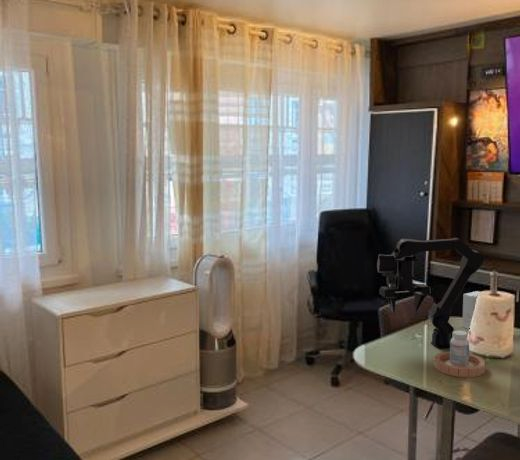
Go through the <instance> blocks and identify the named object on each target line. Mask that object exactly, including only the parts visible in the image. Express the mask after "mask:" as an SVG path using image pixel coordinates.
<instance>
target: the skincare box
mask: <svg viewBox="0 0 520 460" xmlns="http://www.w3.org/2000/svg"><path fill="white" fill-rule="evenodd" d="M480 292H481V291H478V290H475V291H472V292H467V293H463V299H462V325H461V327H463V328H465V329H468V330H469V326H470V322H471V318H472V315H473V311H474V307H475V302H476V298H477V295H478V293H480Z"/></svg>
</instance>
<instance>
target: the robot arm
mask: <svg viewBox="0 0 520 460" xmlns="http://www.w3.org/2000/svg"><path fill="white" fill-rule="evenodd" d="M451 250H455V251H456V252H457V253H458V254H459V255H460V256H462V257H461V260H460V263H459V269H458V271H457V273H456V274H455V276H454V278H453V279H452V281H451V283H450V285H449V287H448V288H447V291H446V292H445V293H444V295H443V297H442V299H441V301H440V302H438V303H435V302H433V303H432V305H431V307H430V309H428V311H427V312H428V315H427V316H428V320H429V322H431V324H432V325H433V327H435V328H433V331H432V332H433V333H432V334H431V336H432V337H431V342H430V343H431V344H432V345H433V346H435V347H436V348H437V349H450V341H451V339H452V338H453V332H454V331H455V328H454V326H452V324H451V323H450V322H449V320H450V318H451V313H452V308H453V306H454V305H455V303H456V301H457V300H458V297H459V296H460V294H461V292H463V290H464V287H465V286H466V284H467V283H468V281H469V279H470V277H471V276H473V274H475V273H476V272H478V270H480V268H481V267H482V266H483V264H484V262H485V259H484V255H483V254H482V253H480V252H478V251H477V250H475V249H471V247H469V246H468V245H466V244H465V243H464V242H463V241H462V240H461V239H459V238H458V237H453V238H443V239H442V238H441V239H429V240H427V239H426V240H419V239H412V238H401V239H399V240H398V242H397V244H396V247H395V249H394V250H393V251H392V252H391V254H378V258H377V262H376V268H377V272H378V273H394V272H395V271H396V270H397V272H396V273H395V277H393V276H392V275H388V276H386V277H385V278H386V280H385V282H386V286H380V288H379V289H378V290H379V292H378V294H379V295H381V296H382V297H383V298H385V299H386V300H387V302H388V304H389V307H390V310H391V313H392V314H395V312H396V298H397V297H396V296H395V295H396V294H409V293H413V295H414V304H413V305H414V309H413V310H414V312H415V313H417V312H418V310H419V308H420V306H421V304H422V303H423V301H424V300H425V298H426V297H428V295H431V293H432V290H431V286H429V285H426V284H424V283H420V284H419V283H418V284H417V283H416V284H415V285H414V279H415V277H416V276H415V275H414V262H420V259H419V258H418V257H417V256H416V255H418V254H420V253H425V252H435V251H451ZM389 285H390V286H389Z"/></svg>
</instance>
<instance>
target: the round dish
mask: <svg viewBox="0 0 520 460" xmlns="http://www.w3.org/2000/svg"><path fill="white" fill-rule="evenodd" d="M433 358H434V362H433V363H434V368H435V369H436V370H437V371H438V372H440V373H443V374H446V376H447V375H448V376H452V377H458V378H475V377H480V376H483V375H484V373H485V371H486V362H485V360H484V358H481V357H480V356H478V355H475V354H473V353H469V364H468V366H466V367H457V366H454V365H452V364H451V363H450V350H449V351H441V352H438V353H436V355H434V357H433Z"/></svg>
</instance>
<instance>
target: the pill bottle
mask: <svg viewBox="0 0 520 460" xmlns="http://www.w3.org/2000/svg"><path fill="white" fill-rule="evenodd" d="M467 338H468V333H467V331H464V330H453V332H452V339H451V341H450V348H449V351H450V363H451V364H452V365H454V366H457V367H466V366H468V364H469V354H470V341H469V339H467Z"/></svg>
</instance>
